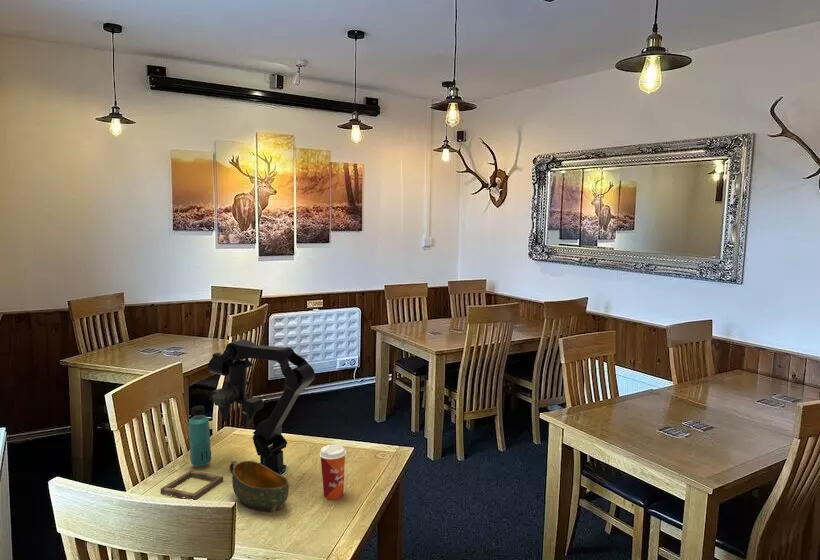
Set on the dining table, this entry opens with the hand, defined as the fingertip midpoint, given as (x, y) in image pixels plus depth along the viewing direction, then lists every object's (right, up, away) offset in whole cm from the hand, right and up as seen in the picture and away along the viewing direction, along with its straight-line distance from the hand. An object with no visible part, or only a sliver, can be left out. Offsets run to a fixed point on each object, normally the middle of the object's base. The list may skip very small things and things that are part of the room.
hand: (235, 424), depth 181 cm
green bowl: (+14, -16, -23) cm, 31 cm away
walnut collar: (-8, -15, -15) cm, 22 cm away
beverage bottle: (-11, -13, -1) cm, 17 cm away
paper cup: (+35, -16, -19) cm, 43 cm away
